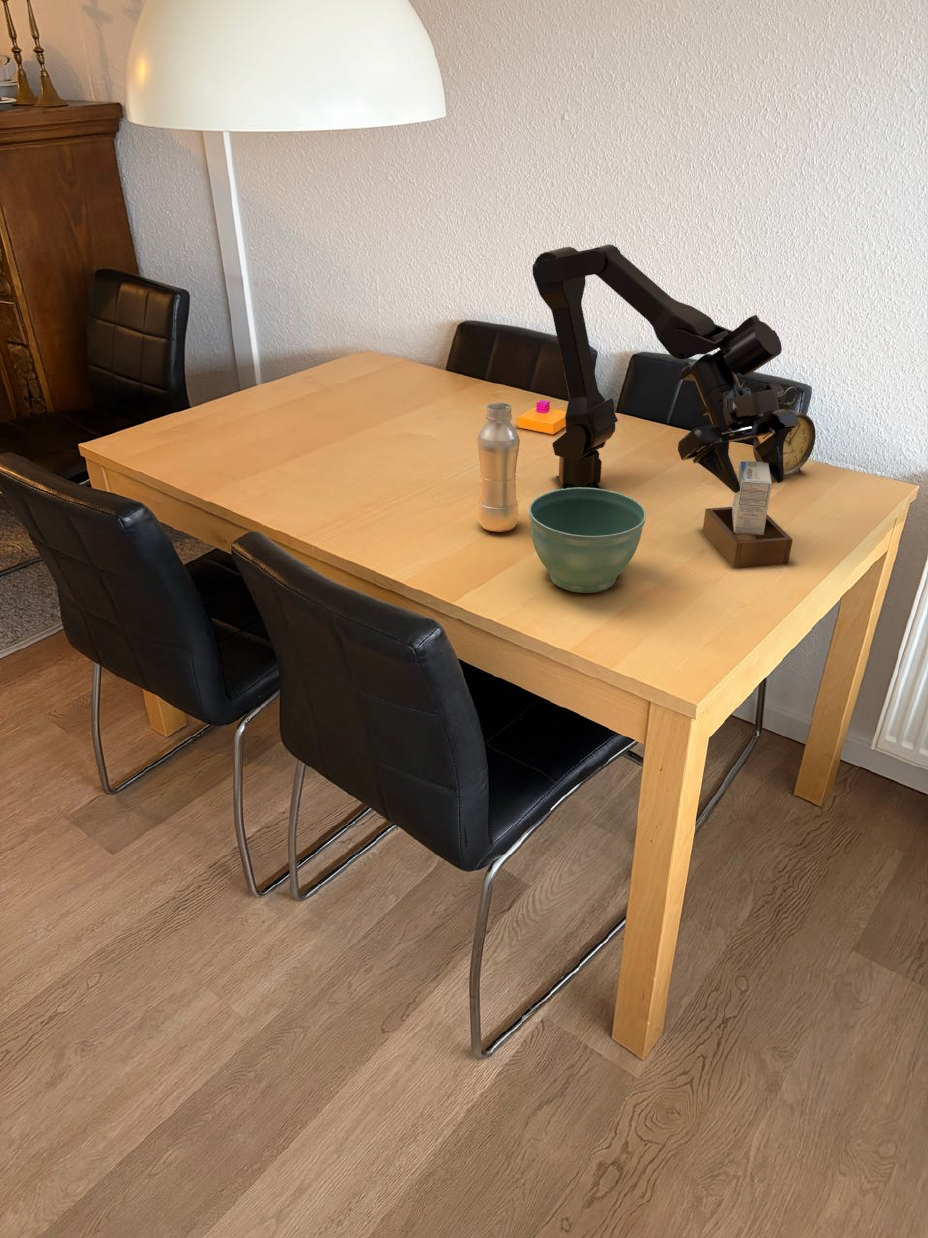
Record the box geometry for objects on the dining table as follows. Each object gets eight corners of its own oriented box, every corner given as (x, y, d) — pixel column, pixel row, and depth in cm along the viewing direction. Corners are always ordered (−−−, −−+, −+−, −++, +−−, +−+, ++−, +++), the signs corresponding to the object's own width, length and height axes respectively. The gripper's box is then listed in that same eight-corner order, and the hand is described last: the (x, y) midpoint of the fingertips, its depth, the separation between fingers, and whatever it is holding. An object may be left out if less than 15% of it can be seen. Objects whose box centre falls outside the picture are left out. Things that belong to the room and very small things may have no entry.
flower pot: (663, 586, 139) (670, 516, 134) (573, 618, 132) (577, 545, 126) (590, 544, 151) (595, 479, 145) (505, 571, 143) (506, 503, 138)
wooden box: (733, 567, 144) (736, 543, 142) (702, 531, 155) (705, 508, 153) (788, 563, 145) (792, 539, 143) (753, 527, 156) (757, 504, 154)
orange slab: (571, 422, 198) (572, 402, 196) (552, 434, 193) (553, 413, 190) (536, 416, 202) (537, 396, 200) (517, 427, 196) (518, 406, 194)
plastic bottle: (506, 540, 152) (508, 416, 142) (469, 530, 155) (468, 408, 145) (526, 525, 157) (529, 404, 147) (489, 516, 160) (490, 396, 150)
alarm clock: (763, 486, 170) (778, 395, 162) (742, 476, 174) (755, 387, 166) (810, 475, 174) (827, 386, 166) (789, 465, 178) (804, 377, 170)
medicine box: (763, 536, 144) (773, 482, 140) (732, 533, 145) (741, 479, 141) (760, 514, 151) (770, 462, 146) (730, 511, 152) (739, 459, 147)
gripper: (700, 373, 135) (741, 475, 132) (802, 356, 142) (843, 452, 140) (659, 411, 145) (697, 506, 143) (757, 393, 153) (794, 484, 150)
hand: (759, 486), depth 143 cm, fingers closed on medicine box, 8 cm apart
